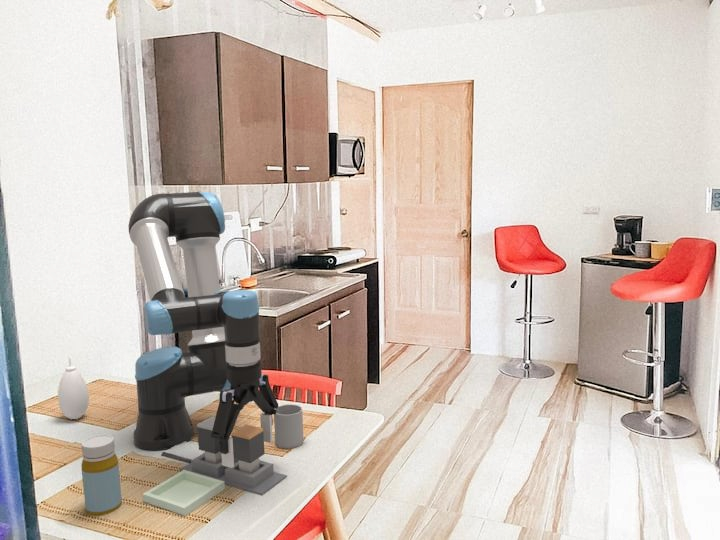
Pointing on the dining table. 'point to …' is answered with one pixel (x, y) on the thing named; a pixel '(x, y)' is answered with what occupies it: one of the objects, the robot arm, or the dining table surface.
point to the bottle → (100, 475)
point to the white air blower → (73, 393)
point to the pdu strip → (213, 467)
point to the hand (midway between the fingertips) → (248, 453)
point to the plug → (248, 447)
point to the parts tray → (183, 492)
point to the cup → (288, 426)
